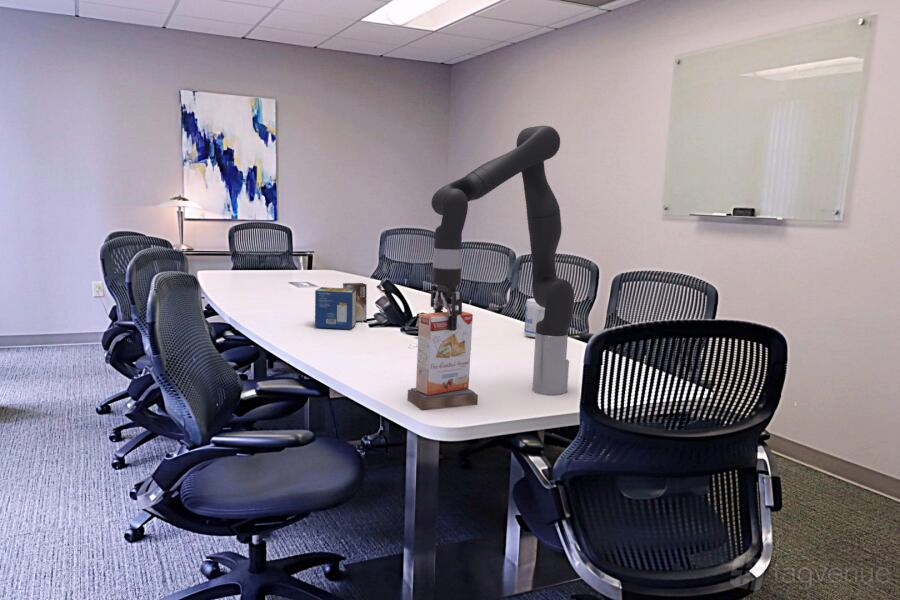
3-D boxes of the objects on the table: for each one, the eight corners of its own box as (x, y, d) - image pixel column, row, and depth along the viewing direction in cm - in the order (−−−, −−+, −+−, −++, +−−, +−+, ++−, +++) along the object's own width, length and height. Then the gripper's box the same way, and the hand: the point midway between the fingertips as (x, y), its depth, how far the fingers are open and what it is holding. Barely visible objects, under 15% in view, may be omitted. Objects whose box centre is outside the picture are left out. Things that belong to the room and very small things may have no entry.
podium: (460, 395, 191) (461, 383, 190) (477, 405, 182) (477, 392, 181) (407, 400, 184) (407, 388, 183) (422, 411, 175) (422, 398, 174)
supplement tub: (519, 334, 282) (521, 298, 280) (537, 332, 287) (539, 297, 285) (534, 338, 274) (536, 302, 272) (552, 336, 279) (554, 301, 277)
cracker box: (428, 396, 176) (431, 316, 173) (415, 391, 180) (417, 313, 177) (470, 389, 184) (473, 312, 181) (456, 384, 189) (459, 309, 186)
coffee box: (362, 318, 306) (362, 282, 303) (366, 320, 300) (367, 284, 297) (342, 318, 302) (342, 282, 299) (346, 321, 296) (346, 284, 294)
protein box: (320, 323, 290) (320, 286, 288) (356, 324, 290) (356, 288, 287) (314, 327, 280) (314, 290, 278) (351, 329, 279) (351, 291, 277)
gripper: (472, 268, 173) (470, 331, 175) (448, 263, 185) (446, 322, 188) (445, 269, 169) (443, 333, 172) (423, 263, 182) (421, 323, 185)
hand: (444, 327), depth 180 cm, fingers open, 8 cm apart
